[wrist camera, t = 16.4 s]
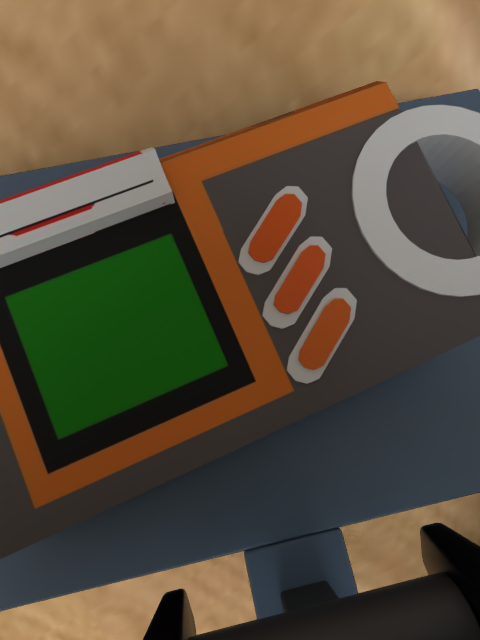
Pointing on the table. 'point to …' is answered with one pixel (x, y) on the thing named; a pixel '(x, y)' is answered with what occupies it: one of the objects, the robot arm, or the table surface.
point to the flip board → (293, 497)
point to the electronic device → (224, 295)
